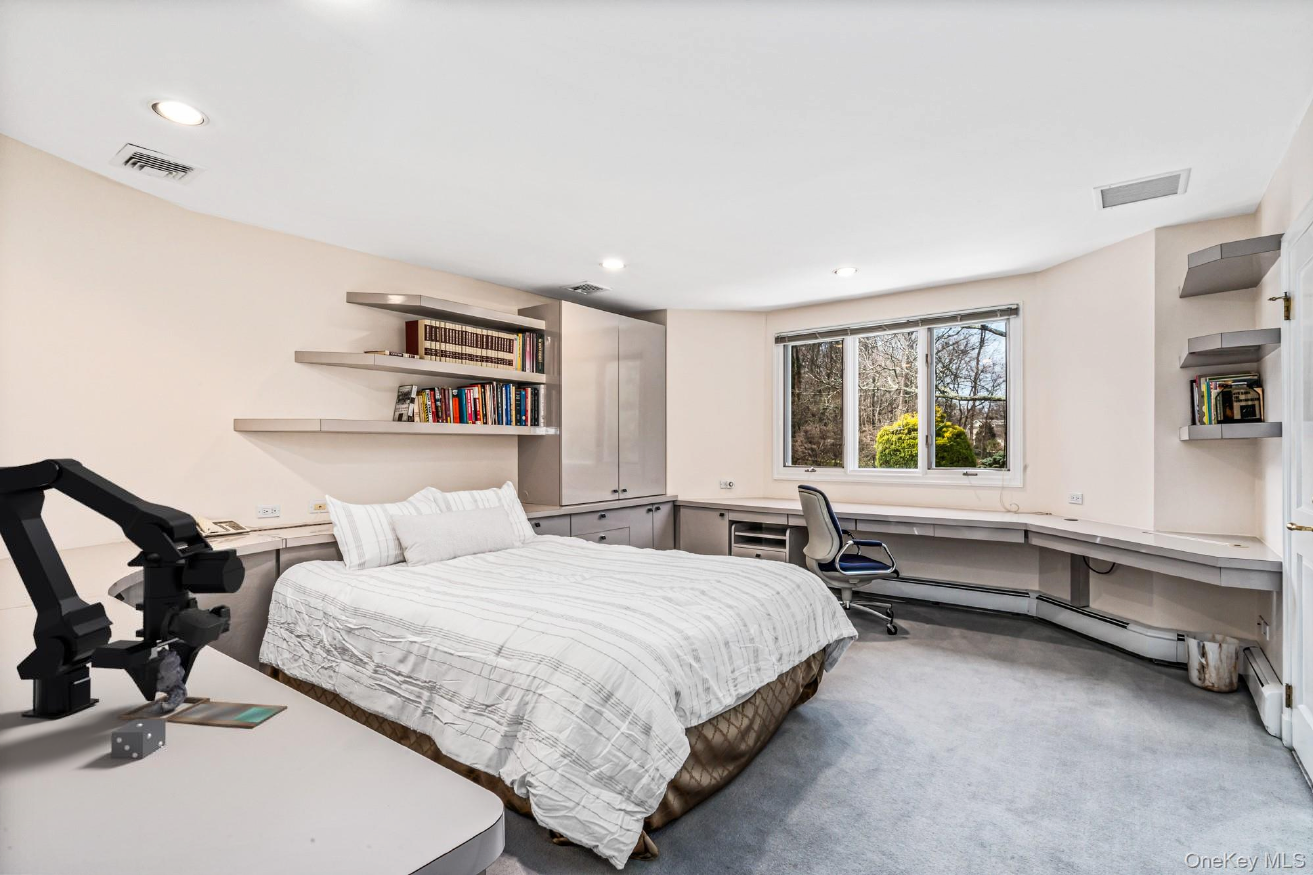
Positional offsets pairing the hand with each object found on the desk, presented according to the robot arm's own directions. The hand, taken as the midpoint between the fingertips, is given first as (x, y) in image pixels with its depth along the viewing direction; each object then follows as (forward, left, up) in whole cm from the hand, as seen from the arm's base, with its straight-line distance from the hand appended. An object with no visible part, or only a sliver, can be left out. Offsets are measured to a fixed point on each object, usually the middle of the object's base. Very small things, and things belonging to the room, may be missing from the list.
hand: (165, 694), depth 98 cm
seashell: (0, 0, -3) cm, 3 cm away
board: (+11, 0, -2) cm, 11 cm away
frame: (0, 0, -2) cm, 3 cm away
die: (+9, -13, -3) cm, 16 cm away
